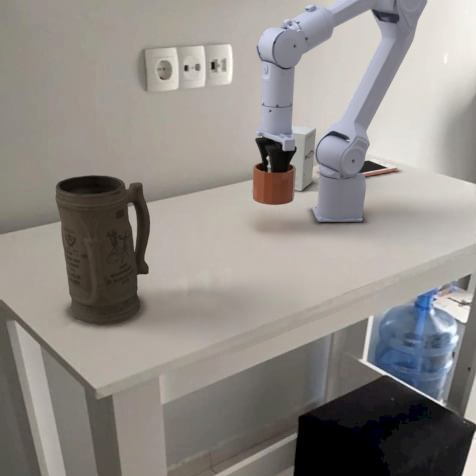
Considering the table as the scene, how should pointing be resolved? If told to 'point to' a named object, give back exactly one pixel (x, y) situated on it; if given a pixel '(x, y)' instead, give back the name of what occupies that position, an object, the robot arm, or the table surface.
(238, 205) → the table surface
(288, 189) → the cup
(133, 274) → the beer stein
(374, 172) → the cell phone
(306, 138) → the white packaging box
